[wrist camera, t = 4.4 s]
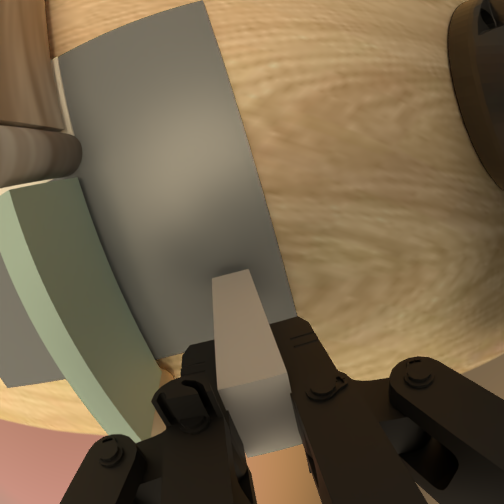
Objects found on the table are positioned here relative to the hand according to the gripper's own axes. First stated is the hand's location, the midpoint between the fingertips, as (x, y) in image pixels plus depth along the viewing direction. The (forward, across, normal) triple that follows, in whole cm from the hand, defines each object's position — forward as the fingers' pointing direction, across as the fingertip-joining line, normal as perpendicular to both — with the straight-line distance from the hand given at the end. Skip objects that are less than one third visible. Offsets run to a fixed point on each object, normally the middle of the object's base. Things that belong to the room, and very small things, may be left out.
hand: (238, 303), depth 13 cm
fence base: (+2, +6, -13) cm, 15 cm away
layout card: (+2, +8, -5) cm, 10 cm away
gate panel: (+2, +6, -1) cm, 6 cm away
